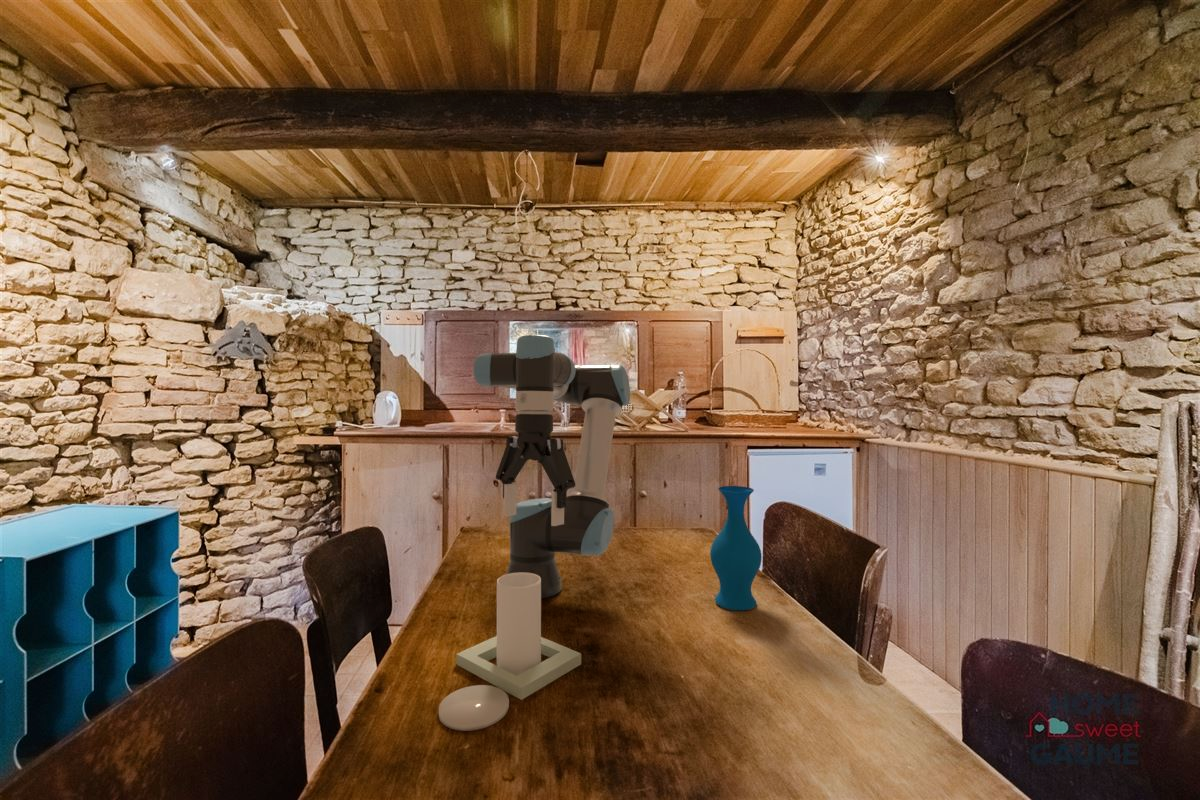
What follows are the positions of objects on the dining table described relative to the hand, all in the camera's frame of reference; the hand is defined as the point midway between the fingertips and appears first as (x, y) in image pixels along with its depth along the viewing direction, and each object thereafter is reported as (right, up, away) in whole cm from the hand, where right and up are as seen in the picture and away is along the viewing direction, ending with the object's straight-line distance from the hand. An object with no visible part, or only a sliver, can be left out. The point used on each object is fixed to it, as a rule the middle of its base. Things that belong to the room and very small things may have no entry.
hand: (532, 520), depth 104 cm
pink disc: (-7, -26, -20) cm, 33 cm away
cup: (-2, -26, -6) cm, 27 cm away
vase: (+46, -26, +23) cm, 58 cm away
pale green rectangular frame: (-2, -26, -6) cm, 27 cm away
